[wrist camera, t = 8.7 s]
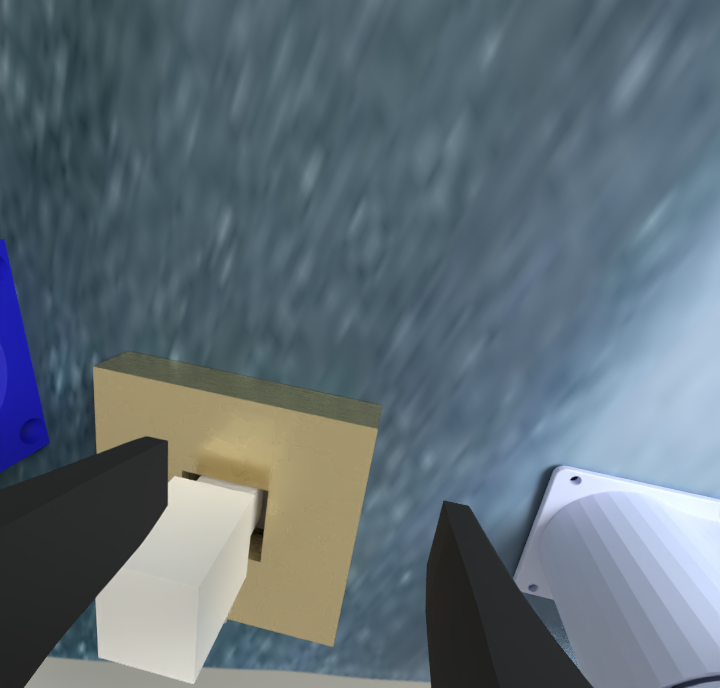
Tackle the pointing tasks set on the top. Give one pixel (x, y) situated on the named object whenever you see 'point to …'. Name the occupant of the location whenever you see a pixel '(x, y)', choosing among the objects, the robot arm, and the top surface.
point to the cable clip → (16, 379)
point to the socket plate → (258, 473)
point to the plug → (180, 579)
